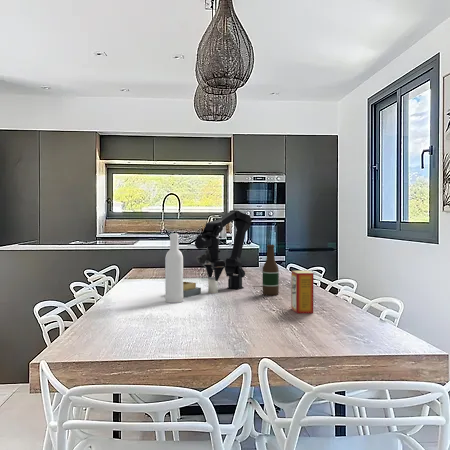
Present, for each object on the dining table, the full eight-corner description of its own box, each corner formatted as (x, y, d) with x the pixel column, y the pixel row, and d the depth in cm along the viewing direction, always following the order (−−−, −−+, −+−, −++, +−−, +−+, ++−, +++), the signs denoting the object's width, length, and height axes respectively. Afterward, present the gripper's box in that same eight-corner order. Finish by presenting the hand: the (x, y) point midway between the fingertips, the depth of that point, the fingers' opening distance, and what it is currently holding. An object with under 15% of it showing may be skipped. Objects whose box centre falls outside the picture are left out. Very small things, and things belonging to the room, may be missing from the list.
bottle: (185, 300, 217) (185, 233, 216) (179, 303, 209) (179, 233, 209) (169, 299, 219) (169, 233, 218) (162, 302, 211) (162, 233, 211)
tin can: (219, 292, 239) (219, 277, 239) (214, 293, 235) (214, 278, 235) (211, 291, 241) (211, 276, 241) (206, 293, 237) (206, 278, 237)
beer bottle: (277, 296, 229) (278, 245, 228) (261, 295, 230) (261, 245, 230) (279, 293, 236) (279, 244, 236) (263, 292, 238) (263, 244, 237)
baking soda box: (291, 308, 198) (291, 269, 197) (307, 308, 198) (307, 269, 198) (296, 313, 188) (297, 272, 188) (313, 313, 189) (313, 272, 189)
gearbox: (200, 293, 235) (200, 282, 235) (185, 297, 225) (185, 285, 224) (177, 291, 242) (177, 280, 242) (161, 294, 232) (161, 283, 232)
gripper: (191, 247, 243) (191, 278, 244) (204, 249, 226) (204, 283, 226) (212, 246, 248) (212, 277, 248) (226, 249, 230) (226, 281, 231)
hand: (213, 279), depth 238 cm, fingers open, 9 cm apart
